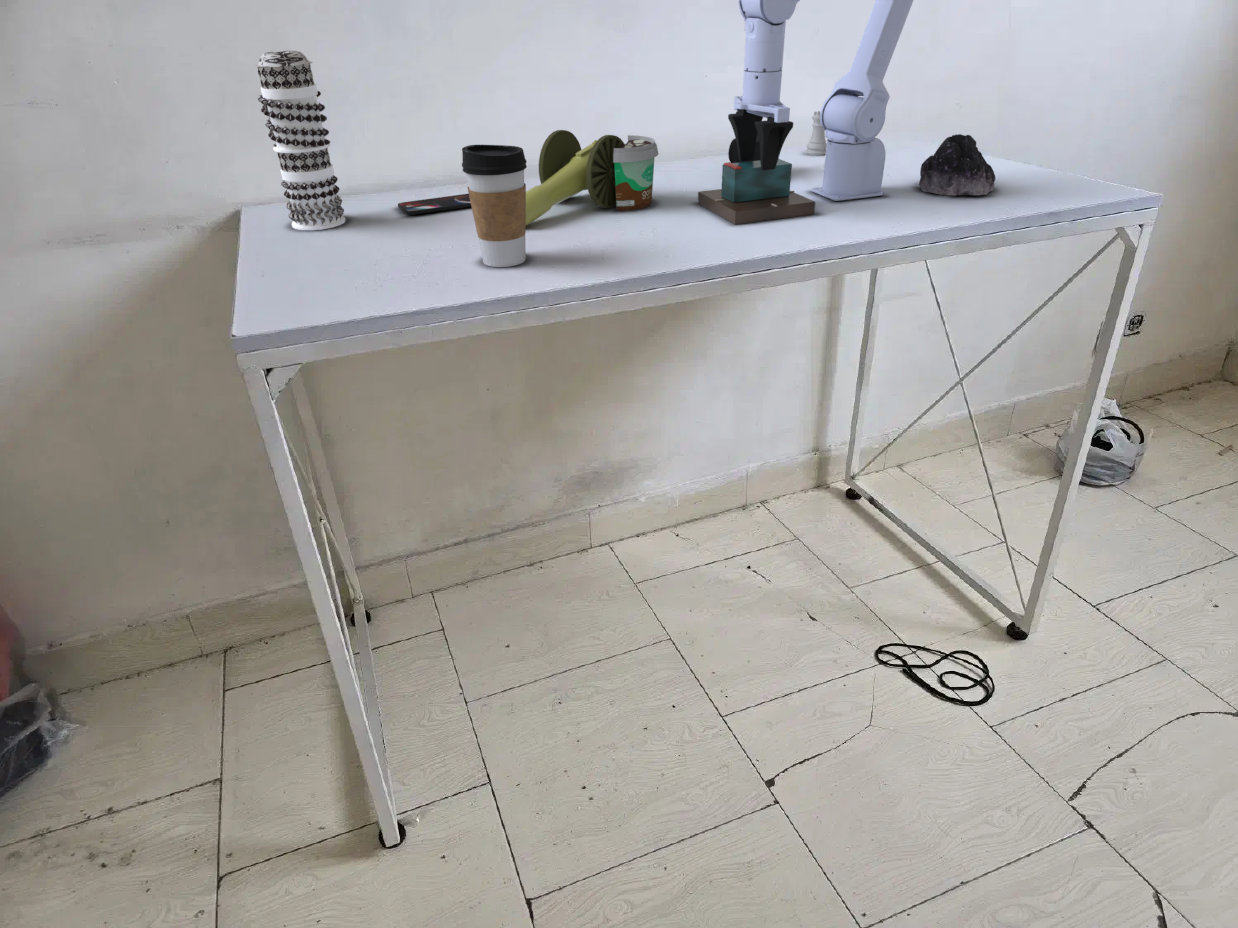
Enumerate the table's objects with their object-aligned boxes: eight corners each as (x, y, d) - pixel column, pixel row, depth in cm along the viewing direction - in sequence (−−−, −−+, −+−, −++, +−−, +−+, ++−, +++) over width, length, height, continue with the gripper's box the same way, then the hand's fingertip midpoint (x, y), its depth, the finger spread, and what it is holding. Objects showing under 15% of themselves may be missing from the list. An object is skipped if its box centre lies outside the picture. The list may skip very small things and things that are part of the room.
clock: (772, 194, 140) (773, 182, 138) (815, 214, 128) (816, 200, 127) (697, 203, 136) (697, 190, 135) (734, 224, 124) (735, 210, 123)
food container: (651, 214, 131) (651, 149, 125) (614, 213, 132) (612, 149, 127) (664, 195, 141) (664, 135, 136) (629, 195, 142) (628, 134, 137)
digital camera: (752, 168, 157) (754, 130, 154) (777, 171, 155) (780, 132, 151) (726, 179, 150) (728, 139, 147) (752, 182, 148) (754, 142, 144)
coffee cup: (476, 253, 115) (462, 142, 108) (534, 250, 116) (525, 139, 108) (471, 272, 108) (456, 155, 100) (534, 268, 109) (524, 152, 101)
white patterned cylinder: (287, 220, 134) (246, 52, 120) (344, 213, 137) (310, 48, 123) (291, 234, 126) (248, 57, 113) (351, 226, 129) (316, 52, 116)
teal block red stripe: (775, 190, 134) (778, 157, 131) (789, 196, 130) (792, 162, 128) (721, 196, 131) (722, 162, 129) (733, 202, 128) (735, 168, 125)
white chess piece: (805, 155, 166) (809, 114, 162) (805, 151, 170) (808, 110, 166) (827, 155, 166) (832, 114, 161) (826, 151, 169) (831, 110, 165)
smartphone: (493, 200, 138) (406, 212, 133) (493, 204, 139) (407, 216, 133) (479, 191, 144) (396, 203, 138) (479, 195, 144) (396, 206, 139)
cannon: (543, 235, 122) (537, 156, 116) (486, 224, 128) (478, 149, 122) (636, 199, 139) (635, 129, 133) (583, 191, 145) (579, 124, 139)
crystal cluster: (962, 181, 147) (966, 123, 142) (1016, 191, 135) (1023, 127, 130) (898, 195, 144) (900, 136, 139) (948, 206, 132) (952, 142, 128)
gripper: (718, 67, 126) (714, 158, 133) (761, 77, 114) (755, 176, 121) (758, 64, 128) (753, 154, 135) (805, 74, 116) (796, 171, 123)
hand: (756, 164), depth 128 cm, fingers open, 7 cm apart
